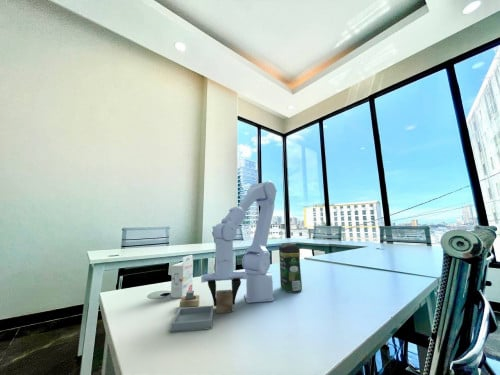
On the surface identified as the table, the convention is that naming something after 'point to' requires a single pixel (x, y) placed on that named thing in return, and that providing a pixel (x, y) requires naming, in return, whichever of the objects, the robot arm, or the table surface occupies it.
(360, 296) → the table surface
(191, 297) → the gray metal block
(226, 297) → the walnut block
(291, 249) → the coffee jar
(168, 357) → the table surface
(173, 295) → the ink cartridge box
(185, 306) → the wooden square frame
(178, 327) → the tray
